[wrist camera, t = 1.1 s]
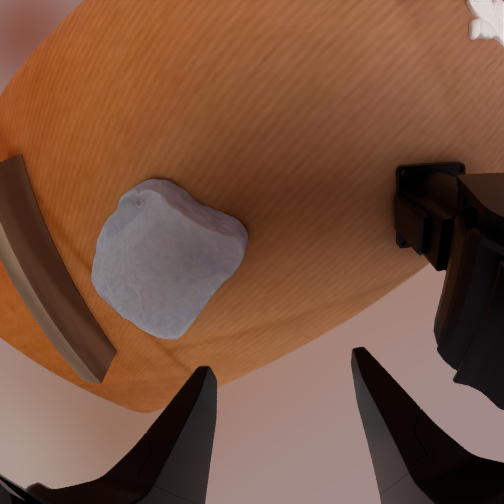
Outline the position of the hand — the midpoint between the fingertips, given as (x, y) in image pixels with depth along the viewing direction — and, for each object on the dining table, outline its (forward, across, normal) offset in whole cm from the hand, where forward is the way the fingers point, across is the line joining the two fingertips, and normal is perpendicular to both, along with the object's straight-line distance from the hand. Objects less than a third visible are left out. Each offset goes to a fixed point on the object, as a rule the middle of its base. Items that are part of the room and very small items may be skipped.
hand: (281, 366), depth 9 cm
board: (+12, +22, 0) cm, 25 cm away
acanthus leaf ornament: (+13, -23, -17) cm, 31 cm away
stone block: (+12, +9, 0) cm, 15 cm away
